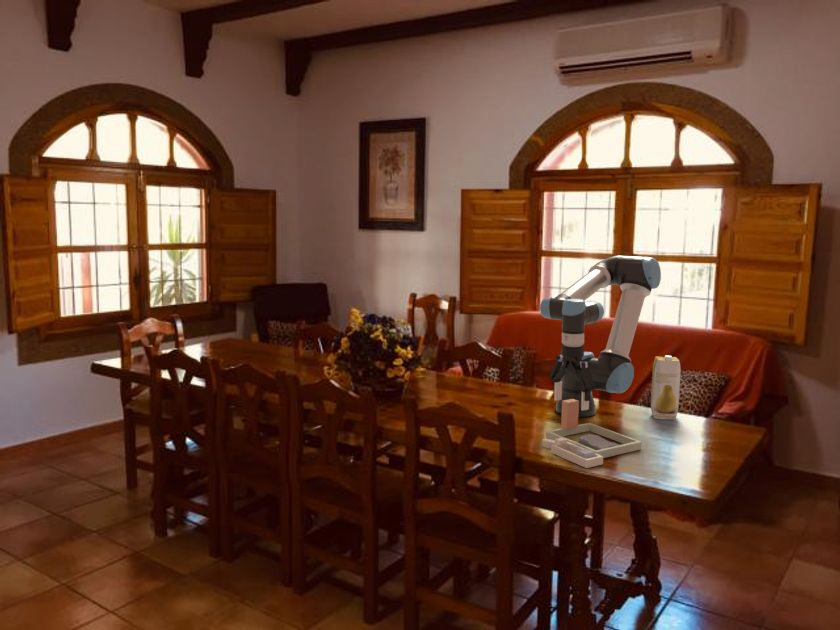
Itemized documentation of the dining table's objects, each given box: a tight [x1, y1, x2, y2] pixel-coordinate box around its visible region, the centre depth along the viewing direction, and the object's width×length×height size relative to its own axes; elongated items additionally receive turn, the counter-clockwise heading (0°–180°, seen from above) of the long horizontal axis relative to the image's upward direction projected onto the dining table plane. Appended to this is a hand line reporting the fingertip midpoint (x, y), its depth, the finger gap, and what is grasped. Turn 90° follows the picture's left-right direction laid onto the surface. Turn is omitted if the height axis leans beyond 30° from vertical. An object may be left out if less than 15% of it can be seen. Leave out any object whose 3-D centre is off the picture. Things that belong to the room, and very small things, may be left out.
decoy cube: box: [576, 448, 595, 459], centre depth 223 cm, size 4×4×4 cm
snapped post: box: [541, 437, 555, 449], centre depth 238 cm, size 5×2×2 cm, turn 52°
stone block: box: [577, 434, 620, 450], centre depth 236 cm, size 12×5×10 cm
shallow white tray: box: [545, 399, 643, 459], centre depth 240 cm, size 25×20×12 cm
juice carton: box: [650, 354, 682, 421], centre depth 271 cm, size 9×8×24 cm
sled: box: [551, 438, 604, 469], centre depth 227 cm, size 17×7×4 cm, turn 31°
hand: (571, 404), depth 249 cm, fingers open, 13 cm apart
